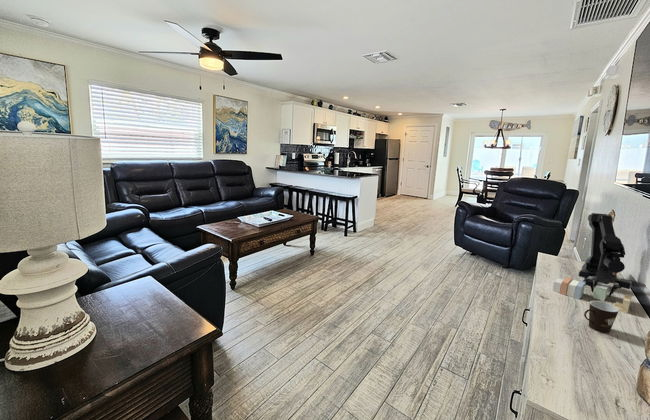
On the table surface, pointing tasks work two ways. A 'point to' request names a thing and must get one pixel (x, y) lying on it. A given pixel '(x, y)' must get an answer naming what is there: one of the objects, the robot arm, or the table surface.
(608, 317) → the coffee mug
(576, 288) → the book row
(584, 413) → the table surface
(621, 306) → the bookend
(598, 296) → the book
